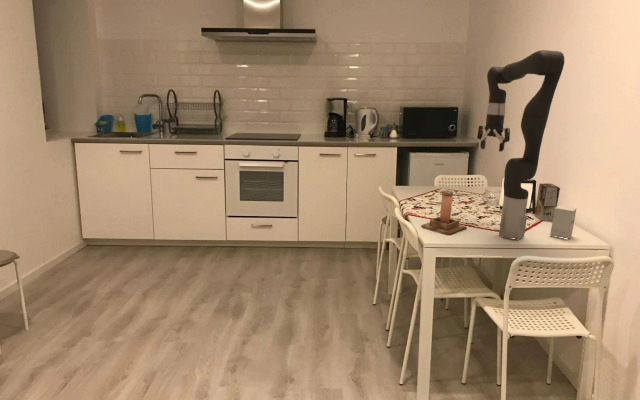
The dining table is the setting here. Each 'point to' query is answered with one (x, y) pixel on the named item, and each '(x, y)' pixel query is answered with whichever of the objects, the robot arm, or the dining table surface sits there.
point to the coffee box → (546, 201)
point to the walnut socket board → (444, 226)
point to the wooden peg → (446, 207)
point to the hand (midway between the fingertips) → (491, 150)
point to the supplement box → (563, 221)
